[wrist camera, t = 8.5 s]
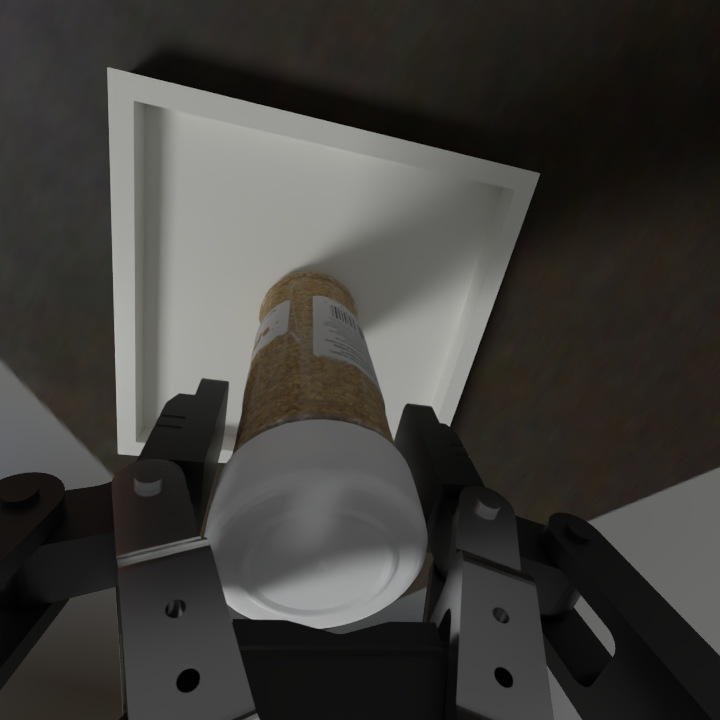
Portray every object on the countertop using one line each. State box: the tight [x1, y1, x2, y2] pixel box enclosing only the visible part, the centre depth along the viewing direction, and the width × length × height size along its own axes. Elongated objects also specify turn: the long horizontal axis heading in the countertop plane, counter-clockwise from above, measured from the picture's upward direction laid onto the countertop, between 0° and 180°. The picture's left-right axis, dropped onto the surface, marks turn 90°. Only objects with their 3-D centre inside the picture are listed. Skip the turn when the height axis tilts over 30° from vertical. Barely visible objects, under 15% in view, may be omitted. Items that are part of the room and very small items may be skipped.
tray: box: [107, 67, 540, 463], centre depth 20 cm, size 16×16×2 cm
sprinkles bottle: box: [204, 272, 428, 629], centre depth 15 cm, size 5×5×13 cm
